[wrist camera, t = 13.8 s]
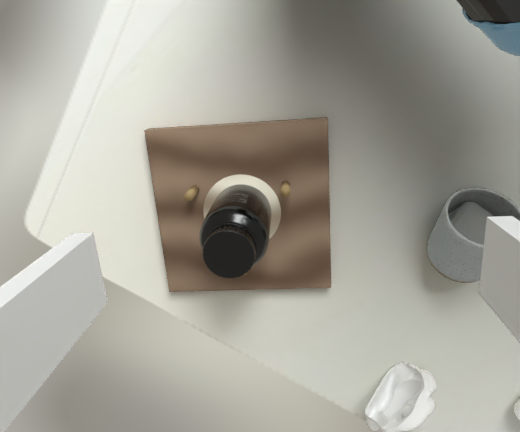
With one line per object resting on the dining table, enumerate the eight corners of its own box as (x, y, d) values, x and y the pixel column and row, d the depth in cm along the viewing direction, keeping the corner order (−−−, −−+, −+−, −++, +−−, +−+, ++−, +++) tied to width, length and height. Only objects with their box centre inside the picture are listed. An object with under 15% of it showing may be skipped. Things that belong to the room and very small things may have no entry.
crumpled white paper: (374, 407, 59) (389, 470, 49) (354, 386, 58) (366, 446, 48) (436, 370, 56) (465, 429, 47) (417, 348, 55) (441, 403, 46)
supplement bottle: (204, 223, 50) (177, 268, 38) (228, 172, 48) (207, 204, 36) (256, 248, 50) (246, 300, 39) (282, 199, 48) (279, 239, 37)
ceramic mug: (432, 225, 51) (414, 273, 47) (455, 177, 45) (436, 227, 41) (527, 260, 48) (517, 315, 44) (566, 213, 41) (559, 272, 37)
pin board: (148, 128, 48) (135, 134, 44) (326, 117, 46) (330, 122, 42) (172, 286, 55) (162, 304, 50) (330, 281, 53) (333, 300, 49)
